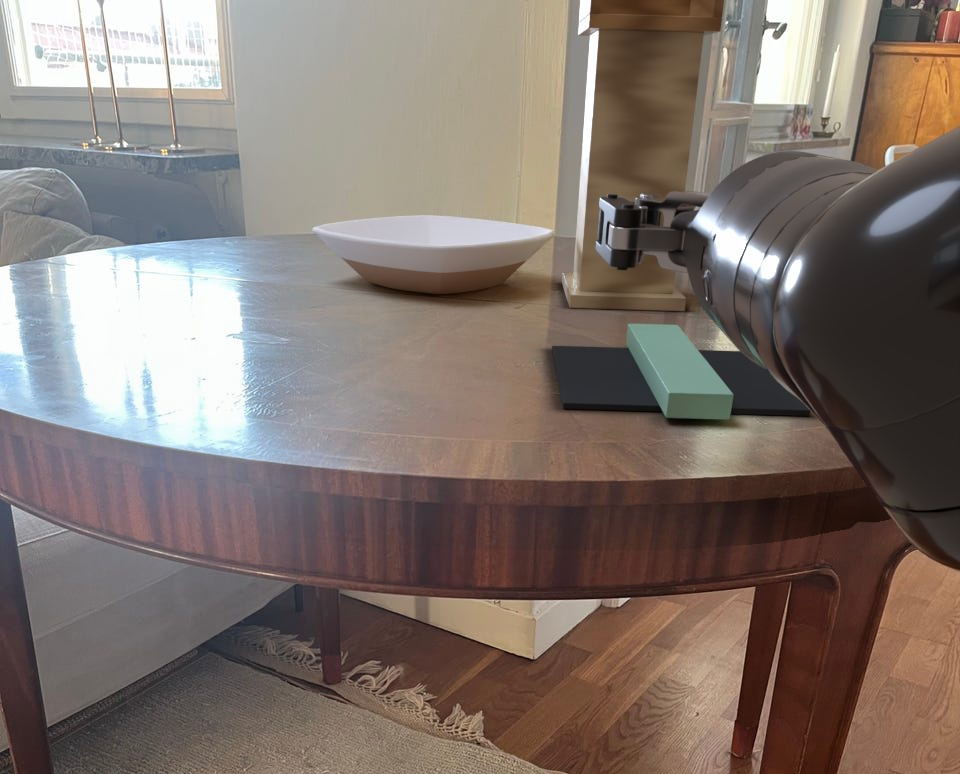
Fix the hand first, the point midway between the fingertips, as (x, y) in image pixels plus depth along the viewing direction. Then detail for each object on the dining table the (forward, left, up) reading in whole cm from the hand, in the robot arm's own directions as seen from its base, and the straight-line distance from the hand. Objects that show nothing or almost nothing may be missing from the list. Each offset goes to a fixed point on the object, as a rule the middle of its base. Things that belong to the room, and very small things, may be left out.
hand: (723, 218), depth 51 cm
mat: (-1, -13, -12) cm, 18 cm away
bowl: (+18, -50, -12) cm, 55 cm away
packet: (-1, -13, -12) cm, 17 cm away
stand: (-1, -45, -12) cm, 47 cm away
